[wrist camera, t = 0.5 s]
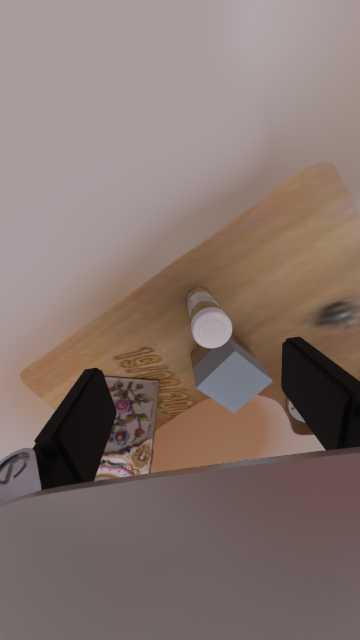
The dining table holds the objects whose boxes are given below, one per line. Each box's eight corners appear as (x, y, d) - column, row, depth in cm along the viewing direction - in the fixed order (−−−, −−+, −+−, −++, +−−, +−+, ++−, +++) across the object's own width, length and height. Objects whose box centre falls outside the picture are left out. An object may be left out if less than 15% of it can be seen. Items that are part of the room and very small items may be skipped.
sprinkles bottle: (204, 315, 36) (221, 355, 23) (181, 306, 35) (185, 341, 22) (216, 292, 34) (241, 321, 22) (192, 282, 33) (203, 305, 21)
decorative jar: (160, 378, 40) (150, 475, 24) (156, 421, 45) (145, 529, 28) (100, 374, 40) (46, 470, 23) (102, 418, 44) (57, 527, 27)
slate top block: (259, 361, 34) (273, 381, 29) (226, 391, 36) (234, 413, 31) (226, 335, 32) (235, 350, 27) (193, 367, 34) (196, 387, 29)
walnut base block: (248, 347, 38) (259, 362, 34) (220, 374, 40) (226, 391, 36) (219, 323, 36) (225, 335, 32) (190, 353, 38) (192, 368, 34)
